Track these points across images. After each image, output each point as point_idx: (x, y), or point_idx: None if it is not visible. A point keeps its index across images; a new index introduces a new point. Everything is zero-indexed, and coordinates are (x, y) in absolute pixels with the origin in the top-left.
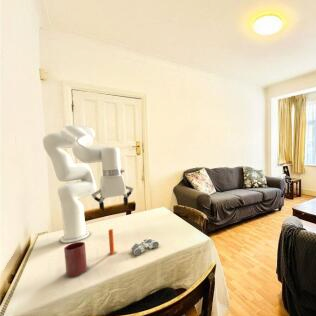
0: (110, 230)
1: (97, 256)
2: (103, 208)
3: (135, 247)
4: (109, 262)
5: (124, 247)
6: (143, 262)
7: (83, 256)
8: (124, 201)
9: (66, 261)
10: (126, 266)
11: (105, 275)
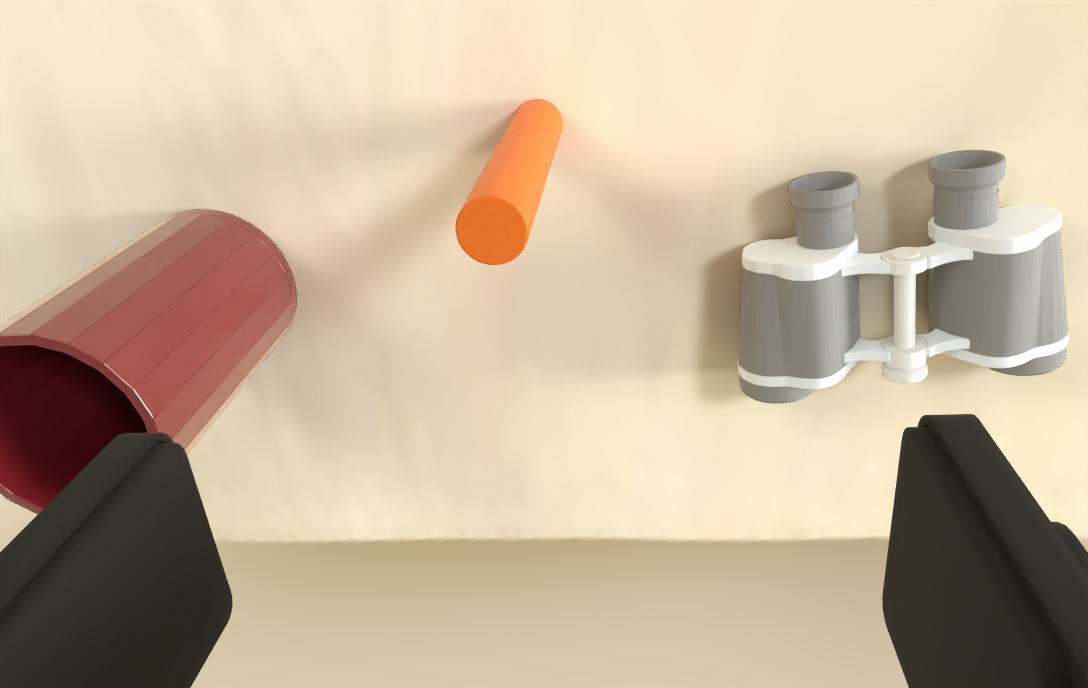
0: (485, 263)
1: (379, 83)
2: (186, 671)
3: (777, 336)
4: (492, 313)
5: (698, 57)
6: (762, 515)
7: (215, 420)
8: (945, 676)
9: (71, 398)
10: (618, 479)
11: (448, 492)
